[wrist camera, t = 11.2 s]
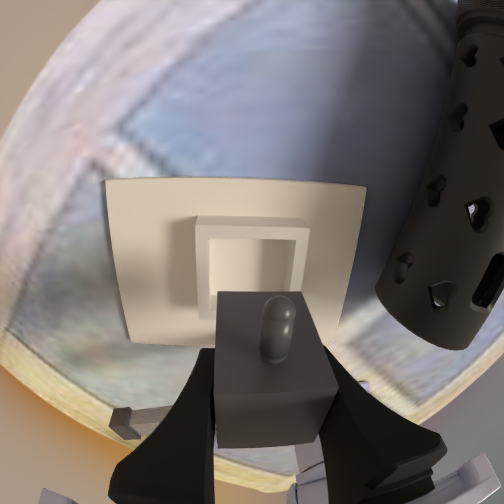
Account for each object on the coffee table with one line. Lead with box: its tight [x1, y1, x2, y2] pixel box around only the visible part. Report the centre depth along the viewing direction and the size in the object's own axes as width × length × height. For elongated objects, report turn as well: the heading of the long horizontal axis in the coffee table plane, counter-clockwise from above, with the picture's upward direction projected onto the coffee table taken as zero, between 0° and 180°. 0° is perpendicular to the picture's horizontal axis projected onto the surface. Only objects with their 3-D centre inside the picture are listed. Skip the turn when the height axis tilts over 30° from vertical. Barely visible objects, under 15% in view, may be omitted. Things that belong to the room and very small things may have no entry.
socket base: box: [105, 177, 367, 347], centre depth 20 cm, size 18×14×3 cm
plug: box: [214, 291, 339, 448], centre depth 11 cm, size 4×7×6 cm, turn 177°
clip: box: [109, 405, 216, 440], centre depth 20 cm, size 2×12×8 cm, turn 109°
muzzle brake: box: [375, 0, 504, 350], centre depth 13 cm, size 10×28×10 cm, turn 163°
